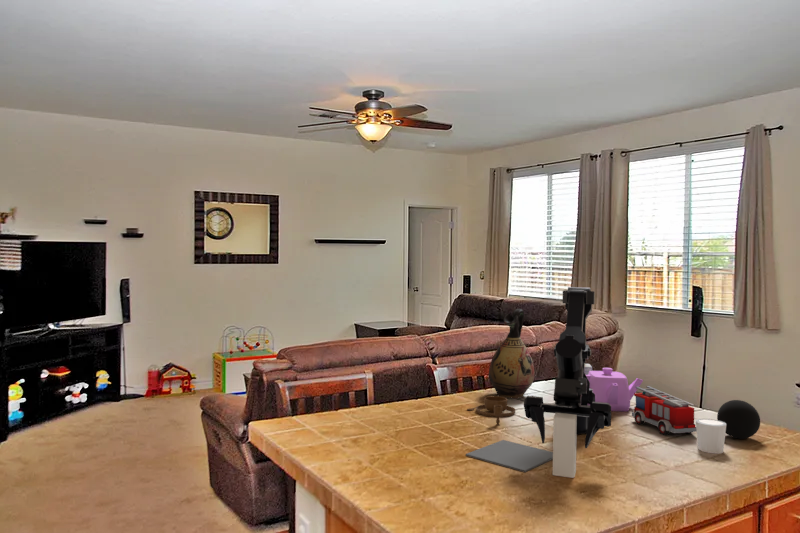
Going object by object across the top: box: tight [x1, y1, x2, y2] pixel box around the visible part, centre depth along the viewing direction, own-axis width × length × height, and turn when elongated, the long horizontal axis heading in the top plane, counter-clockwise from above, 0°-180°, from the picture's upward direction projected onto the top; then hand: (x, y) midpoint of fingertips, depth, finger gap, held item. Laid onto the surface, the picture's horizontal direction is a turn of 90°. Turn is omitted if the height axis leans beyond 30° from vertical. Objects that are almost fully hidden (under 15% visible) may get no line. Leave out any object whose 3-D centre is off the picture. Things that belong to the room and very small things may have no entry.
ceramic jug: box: [488, 308, 535, 399], centre depth 208 cm, size 17×15×30 cm
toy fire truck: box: [631, 385, 697, 436], centre depth 168 cm, size 9×19×10 cm, turn 14°
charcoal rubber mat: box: [465, 439, 553, 473], centre depth 143 cm, size 16×16×1 cm
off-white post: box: [552, 413, 578, 479], centre depth 131 cm, size 4×4×12 cm
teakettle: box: [586, 367, 644, 412], centre depth 194 cm, size 17×17×12 cm
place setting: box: [466, 395, 516, 427], centre depth 180 cm, size 18×20×6 cm
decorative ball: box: [716, 399, 761, 440], centre depth 160 cm, size 10×10×10 cm
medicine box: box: [585, 363, 593, 375], centre depth 221 cm, size 8×4×9 cm, turn 168°
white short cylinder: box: [695, 418, 726, 454], centre depth 149 cm, size 7×7×7 cm
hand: (564, 444), depth 130 cm, fingers open, 9 cm apart
